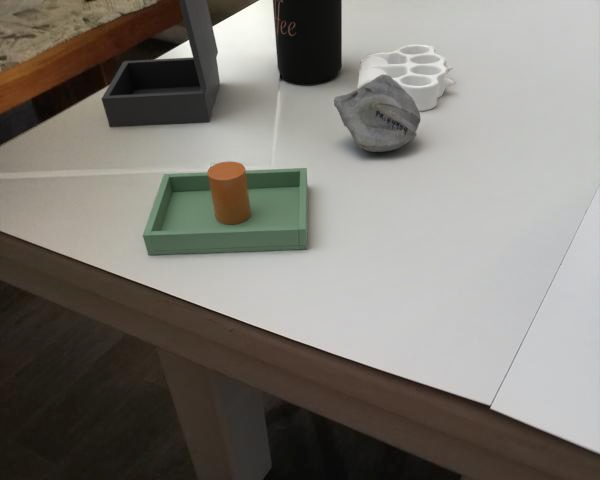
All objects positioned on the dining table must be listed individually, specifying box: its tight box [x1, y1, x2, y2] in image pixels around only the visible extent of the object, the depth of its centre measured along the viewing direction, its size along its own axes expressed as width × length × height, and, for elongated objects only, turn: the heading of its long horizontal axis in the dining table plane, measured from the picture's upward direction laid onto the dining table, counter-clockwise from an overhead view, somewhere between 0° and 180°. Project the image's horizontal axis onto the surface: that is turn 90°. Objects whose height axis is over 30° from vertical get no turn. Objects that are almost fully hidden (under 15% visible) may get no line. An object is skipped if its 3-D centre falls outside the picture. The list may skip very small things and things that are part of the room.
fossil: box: [333, 75, 421, 153], centre depth 77 cm, size 11×9×8 cm
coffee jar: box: [272, 0, 343, 86], centre depth 92 cm, size 11×11×18 cm
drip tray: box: [142, 167, 309, 256], centre depth 68 cm, size 18×14×2 cm
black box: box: [101, 56, 221, 128], centre depth 90 cm, size 15×15×5 cm
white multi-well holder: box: [356, 43, 456, 112], centre depth 91 cm, size 3×18×15 cm
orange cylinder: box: [207, 161, 251, 225], centre depth 67 cm, size 4×4×6 cm
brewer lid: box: [178, 0, 219, 90], centre depth 81 cm, size 16×15×5 cm
